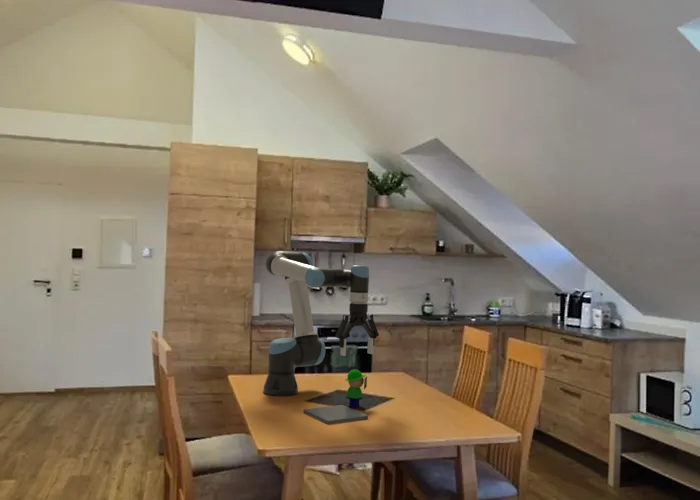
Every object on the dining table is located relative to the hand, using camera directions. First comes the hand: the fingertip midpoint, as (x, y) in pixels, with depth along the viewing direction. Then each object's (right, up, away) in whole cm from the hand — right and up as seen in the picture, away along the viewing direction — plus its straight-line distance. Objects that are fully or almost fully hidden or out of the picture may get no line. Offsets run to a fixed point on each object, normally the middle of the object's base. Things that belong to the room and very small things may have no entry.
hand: (356, 354), depth 249 cm
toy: (-1, -21, 0) cm, 21 cm away
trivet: (-8, -21, -16) cm, 27 cm away
